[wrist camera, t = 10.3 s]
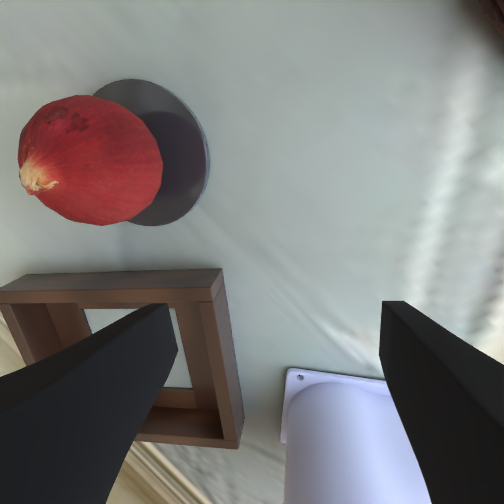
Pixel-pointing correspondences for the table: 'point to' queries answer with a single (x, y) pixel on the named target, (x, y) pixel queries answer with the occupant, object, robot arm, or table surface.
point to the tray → (135, 297)
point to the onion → (89, 160)
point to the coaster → (167, 147)
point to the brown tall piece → (495, 14)
